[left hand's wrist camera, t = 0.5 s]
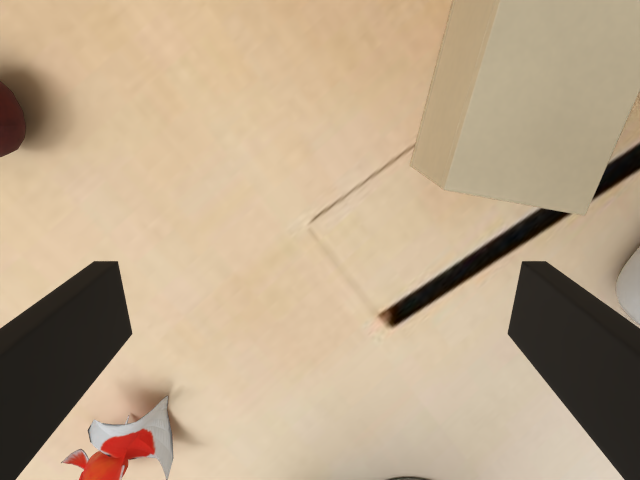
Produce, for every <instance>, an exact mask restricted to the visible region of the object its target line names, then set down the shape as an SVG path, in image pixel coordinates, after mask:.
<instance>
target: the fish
mask: <svg viewBox="0 0 640 480" xmlns="http://www.w3.org/2000/svg"><path fill="white" fill-rule="evenodd" d="M167 405H168V396H166V397H165V398H164V399H162V400H161V401H160V402H159V403H158V404H157V405H156V406H155V407H154V408H153V409H152V410H151V411H150V412H149V413H148V414H146V415H145V416H144V417H142V418H141V419H140V420H138V421H137V422H134V423H130V424H127V423H128V419H129V415H128V418H127V420H126V423H125V425H112V424H104V423H100V422H98V421H96V420H93V422H92V424H91V426H90V427H89V429H88V433H89V438H90V442H91V443H92V444H93V445H94V447H95V448H97V449H98V450H100V451H98V452H97V453H95V454H94V455H93V456H92V457H91V458H90V459H89V458H88V456H87V455H86V453H85V452H84V451H83V450H82V449H79V450H77V451H75V452H73V453H71V454H70V455H69V456H68V457H67V458H66V459H65V460H64V461H62V462H63V463H67V464H73V465H77V466H79V467H81V468H82V469H84V471H83V472H82V473H81V476H80V478H79V480H121V479H122V477H123V475H124V474H125V472H126V469H127V467H128V460H131V459H136V458H141V457H150V458H157V459H158V460H159V461H160V463H161V465H162V467H163V470H164V473H165V476H166V480H168V476H169V472H170V469H171V465H172V461H173V443H172V432H171V427H170V422H169V417H168V411H167ZM62 462H61V463H62Z"/></svg>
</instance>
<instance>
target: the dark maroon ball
mask: <svg viewBox="0 0 640 480" xmlns="http://www.w3.org/2000/svg"><path fill="white" fill-rule="evenodd" d="M25 130H26V125H25V120H24V115H23V111H22V109H21V107H20V105H19V103H18V102H17V100H16V98H15V96H14V94H13V92H12V91H11V90H10V89H9V88H7V87H6V86H5V85H4V84H3V83H2V82H1V81H0V157H2V156H5V155H7V154H9V153H11V152H13V151H15V150H17V149H18V148H19V146H20V145H21V143H22V141H23V140H24V137H25Z"/></svg>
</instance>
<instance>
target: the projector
mask: <svg viewBox="0 0 640 480" xmlns="http://www.w3.org/2000/svg"><path fill="white" fill-rule="evenodd" d="M616 295H617V298H618V301H619V303H620V305H621V307H622V308H623V309H624V311H625V312H626V313H627V314H628V315H629V316H630V317H631V318H632V319H633V320H634V321H635V322H636V323H638V324H639V325H640V247H639V248H638V249H637V250H636V251H635V253H634V254H633V255H632V256H631V257H630V259H629V260H628V261H627V263H626V264H625V266H624V267H623V269H622V270H621V272H620V274H619V276H618V279H617V282H616Z"/></svg>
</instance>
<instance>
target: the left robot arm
mask: <svg viewBox="0 0 640 480" xmlns="http://www.w3.org/2000/svg"><path fill="white" fill-rule="evenodd" d="M131 335H132V329H131V324H130V320H129V315H128V310H127V305H126V300H125V295H124V290H123V285H122V280H121V275H120V270H119V265H118V261H94V262H93V263H91V264H90V265H88V266H87V267H86V268H84V269H83V270H81V271H80V272H79V273H77V274H76V275H74V276H73V277H72V278H70V279H69V280H67V281H66V282H65V283H63V284H62V285H60V286H59V287H58V288H56V289H55V290H53V291H52V292H51V293H49V294H48V295H47V296H45V297H44V298H42V299H41V300H40V301H38V302H37V303H35V304H34V305H33V306H31V307H30V308H28V309H27V310H26V311H24V312H23V313H21V314H20V315H19V316H17V317H16V318H14V319H13V320H12V321H10V322H9V323H7V324H6V325H5V326H3V327H2V328H0V480H16V478H17V477H18V476H19V475H20V473H21V472H22V471H23V470H24V468H25V467H26V466H27V465H28V463H29V462H30V461H31V460H32V458H33V457H34V456H35V455H36V453H37V452H38V451H39V450H40V448H41V447H42V446H43V445H44V443H45V442H46V441H47V440H48V438H49V437H50V436H51V435H52V433H53V432H54V431H55V430H56V428H57V427H58V426H59V425H60V423H61V422H62V421H63V420H64V418H65V417H66V416H67V415H68V413H69V412H70V411H71V410H72V408H73V407H74V406H75V405H76V403H77V402H78V401H79V400H80V398H81V397H82V396H83V395H84V393H85V392H86V391H87V390H88V388H89V387H90V386H91V385H92V383H93V382H94V381H95V380H96V379H97V377H98V376H99V375H100V374H101V372H102V371H103V370H104V369H105V367H106V366H107V365H108V364H109V362H110V361H111V360H112V359H113V357H114V356H115V355H116V354H117V352H118V351H119V350H120V349H121V347H122V346H123V345H124V344H125V342H126V341H127V340H128V339H129V337H130V336H131ZM508 335H509V336H510V337H511V339H512V340H513V341H514V342H515V344H516V345H517V346H518V347H519V349H520V350H521V351H522V352H523V354H524V355H525V356H526V357H527V359H528V360H529V361H530V362H531V364H532V365H533V366H534V367H535V369H536V370H537V371H538V372H539V374H540V375H541V376H542V377H543V379H544V380H545V381H546V382H547V383H548V385H549V386H550V387H551V388H552V390H553V391H554V392H555V393H556V395H557V396H558V397H559V398H560V400H561V401H562V402H563V403H564V405H565V406H566V407H567V408H568V410H569V411H570V412H571V413H572V415H573V416H574V417H575V418H576V420H577V421H578V422H579V423H580V425H581V426H582V427H583V428H584V430H585V431H586V432H587V433H588V435H589V436H590V437H591V438H592V440H593V441H594V442H595V443H596V445H597V446H598V447H599V448H600V450H601V451H602V452H603V453H604V455H605V456H606V457H607V458H608V460H609V461H610V462H611V463H612V465H613V466H614V467H615V468H616V470H617V471H618V472H619V473H620V475H621V476H622V477H623V478H624V480H640V328H638V327H637V326H635V325H634V324H633V323H631V322H630V321H628V320H627V319H626V318H624V317H623V316H621V315H620V314H619V313H617V312H616V311H614V310H613V309H612V308H610V307H609V306H607V305H606V304H605V303H603V302H602V301H600V300H599V299H598V298H596V297H595V296H593V295H592V294H591V293H589V292H588V291H587V290H585V289H584V288H582V287H581V286H580V285H578V284H577V283H575V282H574V281H573V280H571V279H570V278H568V277H567V276H566V275H564V274H563V273H561V272H560V271H559V270H557V269H556V268H554V267H553V266H552V265H550V264H549V263H547V262H546V261H522V265H521V270H520V275H519V280H518V285H517V290H516V295H515V300H514V305H513V310H512V315H511V320H510V324H509V329H508ZM393 480H423V479H416V478H400V479H393Z"/></svg>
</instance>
